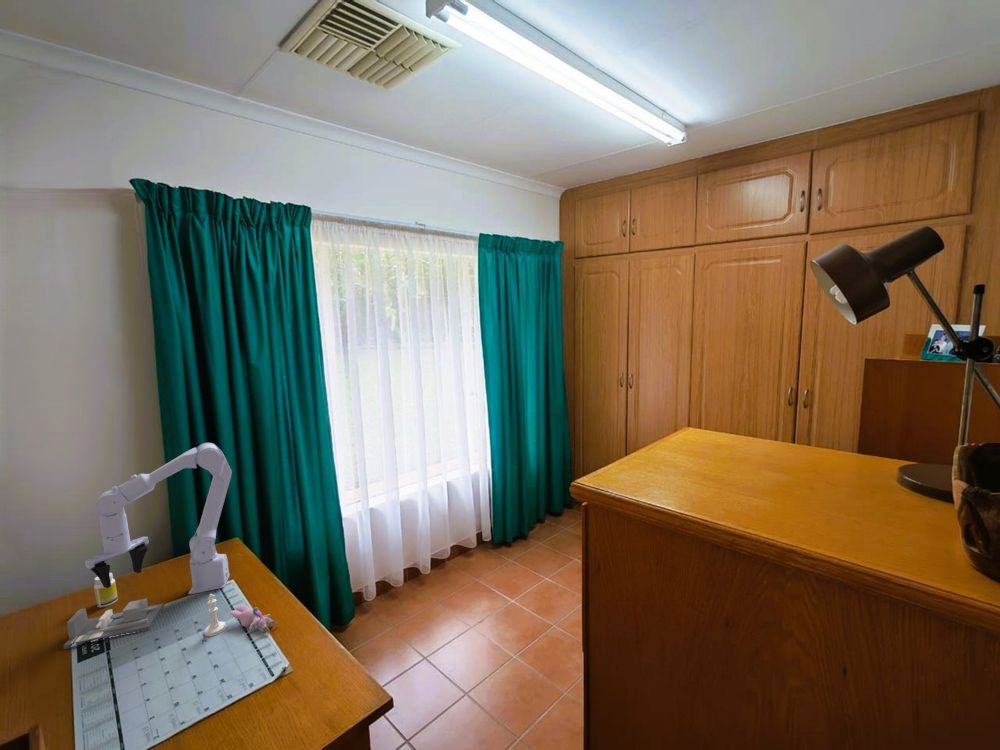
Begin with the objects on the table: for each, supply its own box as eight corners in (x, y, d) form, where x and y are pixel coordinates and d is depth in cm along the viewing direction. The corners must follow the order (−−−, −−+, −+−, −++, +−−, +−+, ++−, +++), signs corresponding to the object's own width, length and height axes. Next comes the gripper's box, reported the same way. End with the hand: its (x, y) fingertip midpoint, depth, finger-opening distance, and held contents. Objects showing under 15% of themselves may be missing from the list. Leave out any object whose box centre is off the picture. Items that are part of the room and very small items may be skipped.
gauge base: (164, 606, 130) (161, 588, 129) (149, 629, 120) (146, 610, 119) (86, 623, 124) (83, 604, 123) (63, 649, 114) (60, 628, 113)
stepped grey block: (148, 611, 126) (146, 598, 125) (142, 620, 122) (140, 607, 121) (115, 618, 123) (113, 605, 123) (108, 627, 119) (106, 614, 119)
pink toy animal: (283, 628, 120) (242, 608, 125) (283, 608, 119) (243, 589, 124) (262, 643, 114) (221, 622, 119) (262, 622, 113) (221, 602, 118)
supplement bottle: (122, 598, 135) (118, 571, 134) (107, 608, 130) (103, 580, 130) (108, 598, 136) (103, 571, 135) (92, 607, 131) (88, 580, 130)
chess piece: (230, 626, 119) (226, 590, 118) (212, 638, 115) (207, 601, 114) (218, 621, 121) (214, 587, 120) (200, 633, 117) (195, 597, 116)
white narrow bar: (113, 618, 123) (112, 608, 123) (100, 634, 116) (99, 624, 116) (108, 619, 123) (106, 610, 122) (95, 636, 116) (93, 625, 116)
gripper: (135, 521, 134) (141, 564, 136) (75, 544, 121) (83, 591, 122) (150, 523, 131) (157, 567, 133) (91, 547, 118) (99, 595, 120)
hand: (122, 579), depth 127 cm, fingers open, 7 cm apart
